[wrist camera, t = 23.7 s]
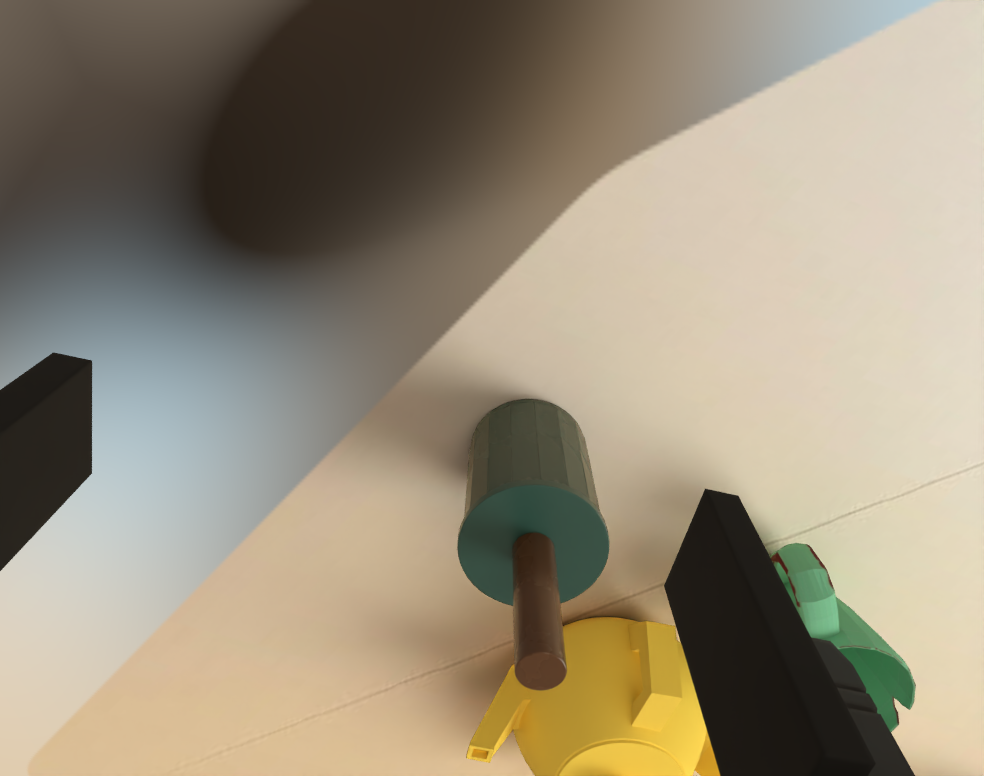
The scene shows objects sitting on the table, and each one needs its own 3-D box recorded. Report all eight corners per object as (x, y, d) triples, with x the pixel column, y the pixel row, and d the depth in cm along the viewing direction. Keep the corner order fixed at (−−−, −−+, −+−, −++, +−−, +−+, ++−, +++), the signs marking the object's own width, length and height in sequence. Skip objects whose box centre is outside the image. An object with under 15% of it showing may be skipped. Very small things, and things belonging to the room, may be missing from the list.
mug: (858, 629, 59) (922, 737, 50) (734, 658, 60) (775, 767, 51) (833, 479, 53) (901, 570, 44) (696, 515, 54) (735, 610, 45)
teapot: (555, 769, 66) (566, 913, 55) (461, 645, 60) (453, 779, 49) (734, 704, 62) (783, 845, 52) (653, 565, 56) (689, 691, 45)
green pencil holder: (463, 405, 51) (454, 490, 41) (580, 393, 50) (599, 476, 41) (478, 502, 54) (473, 602, 45) (588, 492, 54) (607, 590, 44)
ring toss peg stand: (448, 480, 42) (433, 607, 32) (602, 465, 41) (631, 590, 32) (469, 600, 45) (460, 744, 36) (610, 588, 45) (638, 731, 36)
